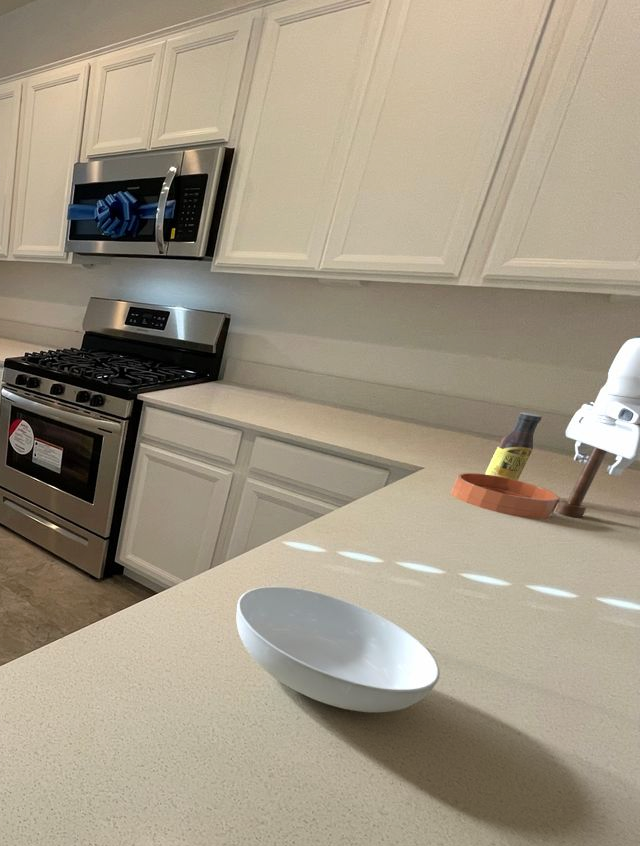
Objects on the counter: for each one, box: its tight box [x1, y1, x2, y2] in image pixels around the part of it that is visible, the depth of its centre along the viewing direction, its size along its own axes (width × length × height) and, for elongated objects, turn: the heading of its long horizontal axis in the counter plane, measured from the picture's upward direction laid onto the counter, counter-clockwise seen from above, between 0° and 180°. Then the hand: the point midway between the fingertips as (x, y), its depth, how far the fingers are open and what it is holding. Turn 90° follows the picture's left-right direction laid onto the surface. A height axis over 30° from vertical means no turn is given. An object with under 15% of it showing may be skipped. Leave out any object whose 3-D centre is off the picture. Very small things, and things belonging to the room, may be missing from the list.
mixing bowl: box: [449, 472, 561, 520], centre depth 135 cm, size 17×17×6 cm
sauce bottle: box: [484, 412, 543, 481], centre depth 148 cm, size 7×6×20 cm
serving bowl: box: [235, 585, 440, 713], centre depth 73 cm, size 21×21×7 cm
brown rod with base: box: [555, 447, 607, 519], centre depth 134 cm, size 4×4×17 cm
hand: (595, 468), depth 132 cm, fingers open, 8 cm apart
